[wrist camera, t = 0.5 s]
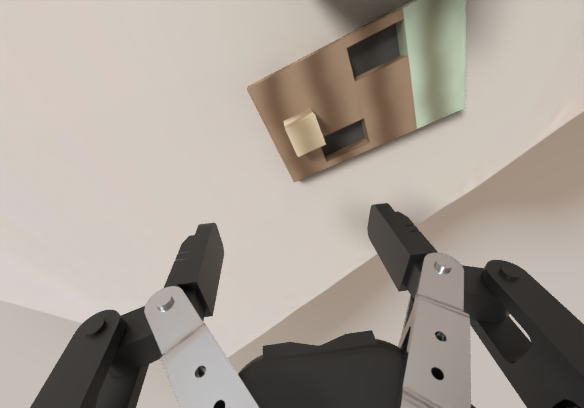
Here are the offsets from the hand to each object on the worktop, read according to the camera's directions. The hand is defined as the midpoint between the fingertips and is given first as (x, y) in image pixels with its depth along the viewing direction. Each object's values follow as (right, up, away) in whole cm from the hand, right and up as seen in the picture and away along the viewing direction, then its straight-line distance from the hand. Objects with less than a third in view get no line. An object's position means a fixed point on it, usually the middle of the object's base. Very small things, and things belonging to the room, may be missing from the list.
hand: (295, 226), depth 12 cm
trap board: (+9, +17, +21) cm, 29 cm away
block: (+1, +12, +21) cm, 24 cm away
